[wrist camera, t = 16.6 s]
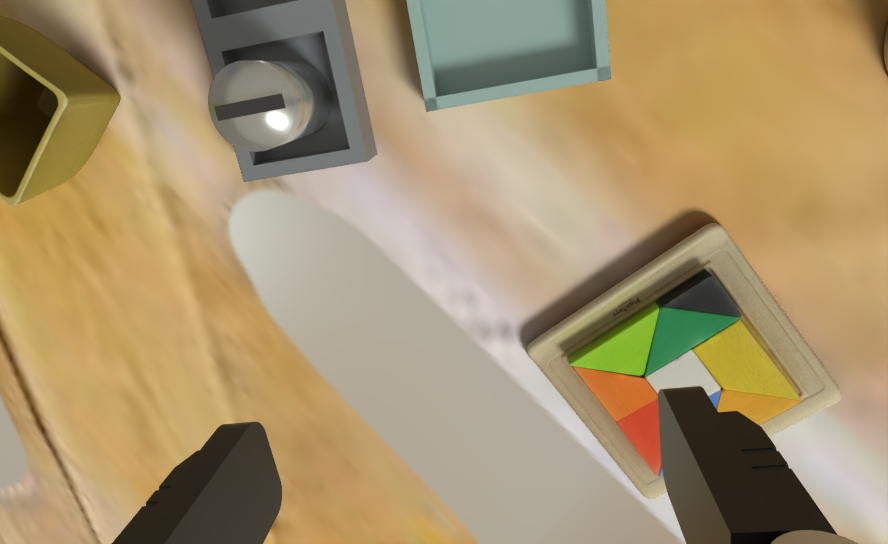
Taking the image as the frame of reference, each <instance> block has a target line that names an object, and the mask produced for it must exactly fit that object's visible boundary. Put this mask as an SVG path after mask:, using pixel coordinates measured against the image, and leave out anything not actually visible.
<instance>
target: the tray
mask: <svg viewBox="0 0 888 544" xmlns="http://www.w3.org/2000/svg"><path fill="white" fill-rule="evenodd" d="M406 1H407V7H408V12H409V18H410V23H411V29H412V35H413V40H414V46H415V51H416V57H417V62H418V68H419V74H420V79H421V85H422V90H423V96H424V102H425V107H426V112H428V111H433V110H439V109H445V108H450V107H456V106H462V105H467V104H473V103H479V102H484V101H490V100H496V99H501V98H507V97H513V96H518V95H524V94H529V93H535V92H541V91H546V90H552V89H558V88H563V87H569V86H575V85H580V84H586V83H592V82H597V81H603V80H609V79H611V70H610V57H609V44H608V30H607V17H606V4H605V0H406Z"/></svg>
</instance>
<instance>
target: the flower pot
mask: <svg viewBox="0 0 888 544" xmlns="http://www.w3.org/2000/svg"><path fill="white" fill-rule="evenodd" d="M120 98H121V97H120V94H119V93H118V92H117V91H116V90H115V89H114V88H113V87H111V86H110V85H109V84H107V83H106V82H105V81H103V80H102V79H101V78H99V77H98V76H97V75H96V74H94V73H93V72H92V71H90V70H89V69H88V68H86V67H85V66H84V65H82V64H81V63H80V62H78V61H77V60H76V59H75V58H73V57H72V56H71V55H69V54H68V53H67V52H65V51H64V50H63V49H62V48H60V47H59V46H58V45H56V44H55V43H54V42H52V41H51V40H49V39H48V38H46V37H45V36H43V35H42V34H40V33H39V32H37V31H35V30H33V29H31V28H30V27H28V26H25V25H23V24H21V23H19V22H16V21H14V20H11V19H8V18H4V17H1V16H0V199H1V200H3V201H5V202H7V203H8V204H10V205H12V206H15V205H17V204H19V203H22V202H24V201H26V200H28V199H30V198H33V197H35V196H37V195H39V194H41V193H43V192H45V191H48V190H50V189H52V188H54V187H56V186H58V185H60V184H62V183H64V182H66V181H67V180H69V179H70V178H71V177H73V176H74V175H75V174H76V173H77V172H78V171H79V170H80V169H81V168H82V167H83V166H84V164H85V163H86V162H87V161H88V159H89V158H90V156H91V154H92V153H93V151H94V149H95V148H96V146H97V144H98V142H99V140H100V138H101V136H102V134H103V132H104V131H105V129H106V127H107V125H108V123H109V121H110V119H111V117H112V115H113V114H114V112H115V110H116V108H117V106H118V105H119V102H120Z"/></svg>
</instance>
